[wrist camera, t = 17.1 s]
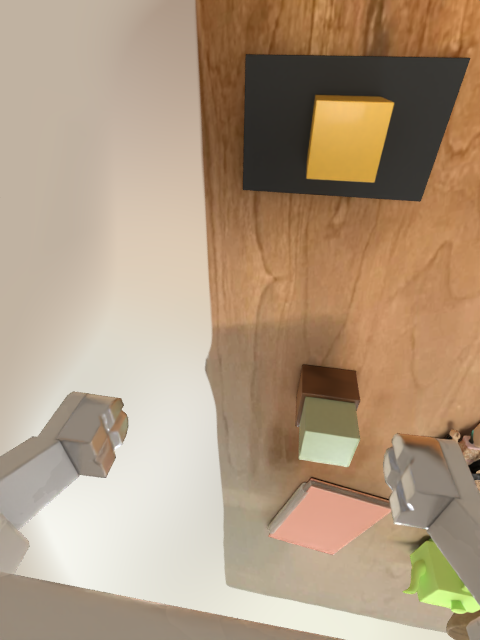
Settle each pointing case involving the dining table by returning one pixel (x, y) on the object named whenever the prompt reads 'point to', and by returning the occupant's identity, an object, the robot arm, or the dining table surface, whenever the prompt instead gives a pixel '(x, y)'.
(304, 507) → the notebook
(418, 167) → the mat
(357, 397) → the base block
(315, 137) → the top block
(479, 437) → the toy figure
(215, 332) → the dining table surface
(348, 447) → the middle block
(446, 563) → the teapot
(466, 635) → the bowl
